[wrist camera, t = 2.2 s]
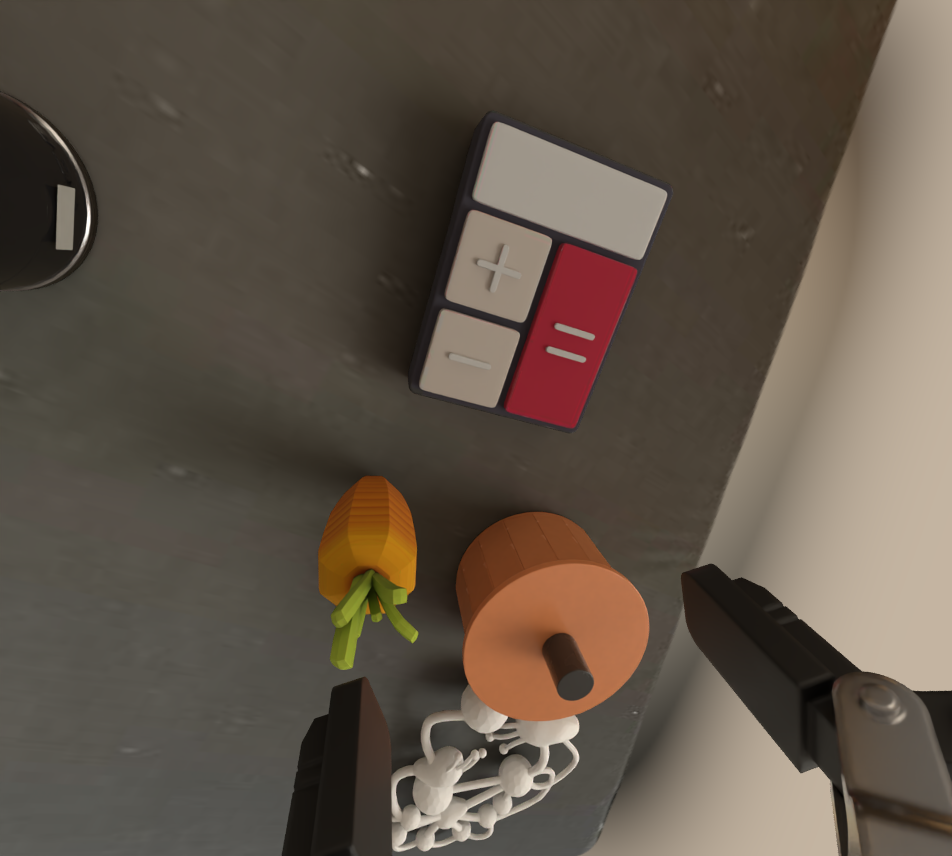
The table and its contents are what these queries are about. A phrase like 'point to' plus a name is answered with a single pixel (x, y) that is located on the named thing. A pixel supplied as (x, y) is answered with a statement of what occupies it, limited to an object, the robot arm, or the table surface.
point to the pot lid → (555, 640)
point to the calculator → (534, 275)
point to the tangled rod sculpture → (447, 767)
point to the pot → (517, 554)
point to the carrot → (367, 562)
